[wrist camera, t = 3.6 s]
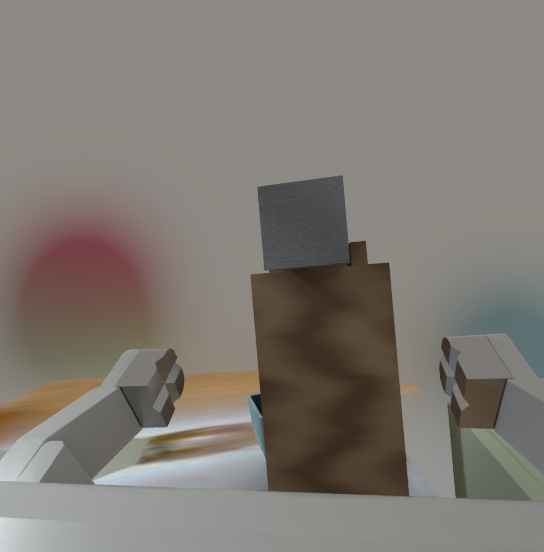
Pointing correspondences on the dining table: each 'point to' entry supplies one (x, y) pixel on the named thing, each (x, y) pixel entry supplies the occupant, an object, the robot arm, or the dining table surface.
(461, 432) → the low sage block
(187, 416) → the dining table surface
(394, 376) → the tall walnut block
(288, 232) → the steel bar
